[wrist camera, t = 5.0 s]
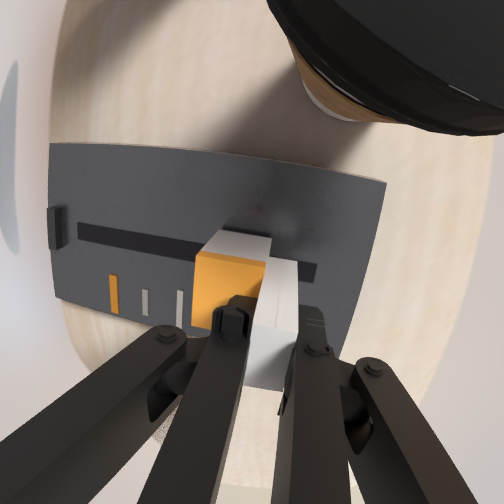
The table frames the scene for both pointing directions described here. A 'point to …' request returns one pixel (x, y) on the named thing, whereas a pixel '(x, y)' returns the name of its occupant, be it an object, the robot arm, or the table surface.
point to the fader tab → (227, 272)
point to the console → (201, 227)
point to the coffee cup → (401, 60)
